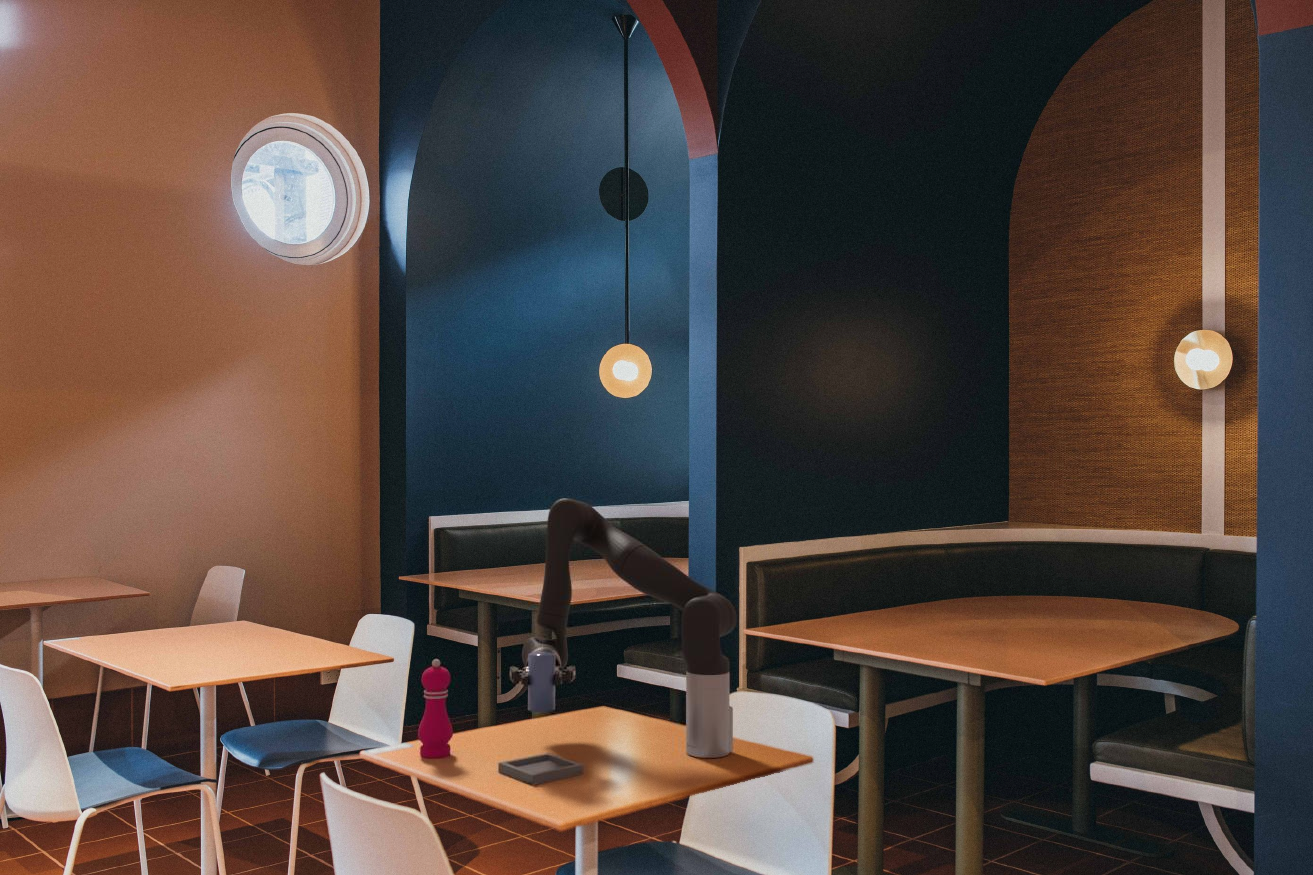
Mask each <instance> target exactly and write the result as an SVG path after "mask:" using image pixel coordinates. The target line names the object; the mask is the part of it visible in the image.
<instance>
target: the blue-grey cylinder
mask: <svg viewBox="0 0 1313 875" xmlns="http://www.w3.org/2000/svg"><path fill="white" fill-rule="evenodd" d="M554 710H556V686H555V653H551V652H534V653H530V654H528V688H527V711H529V712H533V713H546V712H547V713H548V712H553V711H554Z"/></svg>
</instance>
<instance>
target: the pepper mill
mask: <svg viewBox="0 0 1313 875" xmlns="http://www.w3.org/2000/svg"><path fill="white" fill-rule="evenodd" d="M450 683H451V674H450V672H449V670H448V669H447V668H445V667H443V666H441V661H440V659H438V658H435V659H433V660H432V662H431V666H429V667H427V669H425V670H424V671H423V673H422V674H421V684H422V687H424V690H423V693H424V694H423V698H425V709H424V713H423V717H422V718H421V721H420V724H419V727H418V730H417V738H418V740H419V742H421V744H422V745H421V746H420V748H419V755H420V757H421V758H426V759H440V758H445V757H448V756H449V755H450V754H451V745H450V743H449V742H450V741H451V739H452V738H453V734H454V733H453V731H454V730H453V726H452V723H451V720H450V718H449V716H448V712H447V706H446V700H447V697H448V696H449V694H448V692H449V690H448V689H447V687H448V686H449V685H450Z"/></svg>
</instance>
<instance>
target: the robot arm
mask: <svg viewBox="0 0 1313 875" xmlns="http://www.w3.org/2000/svg"><path fill="white" fill-rule="evenodd" d="M546 524H547V525H546V546H545V562H544V564H545V565H544V578H543V584H542V589H541V595H540V601H539V605H538V610H537V615H536V624H537V625H538V626H539V627H542V628H544V629H547V630H548V631H551V632H552V633H554V636H555V639H549V638H546V637H545V638H543V637H540V636H532V637H529V638H527V639H526V640H525V642H524V644H523V647H522V650H521V660H522V663H523V665H524V667H523V668H522V669H519V668H520V667H516V666H514V665H512V666H510V667H509V680H510V681H511V682H512V684H515V685H518V684H520V685H522V686H524V688H527V687H528V654H530V653H534V652H551V653H555V687H559V685H562V684H563V682H564V684H565V683H566V684H571V682H573V681H575V679H576V666H575V665H570V666H567V664H568V659H569V653H568V652H569V651H568V641H567V626H568V619H569V613H570V608H571V603H572V594H573V586H572V579H571V570H570V569H571V568H570V554H571V553H570V552H571V548H572V544H573V542H574V541H575V542H578V543H581V544H583V545H585V546H586V547H588V548H589V549H591V550H593V551H594V552H596V553H598V554H599V555H600V556H601V557H602V558H603V559H604V560H605V562H606V564H608V566H609V568H610V569H611V570H612V572H613V573H614V574H616V575H617V577H618V578H619V579H621V580H622V581H624V582H625V583H627V585H630V586H631V587H632V588H633V589H635V590H636V591H638V592H641V593H642V594H644V595H647V596H649V597H652V598H654V599H657V600H660V601H662V602H666V603H668V604H671V605H673V606H675V607H677V608H679V610H680V611H682V614H681V624H680V626H681V648H682V649H681V650H682V656H683V660H684V662H685V665H686V666H685V674H686V675H685V676H686V677H685V682H686V683H685V685H686V686H685V690H686V691H685V692H686V693H685V694H686V695H685V698H686V699H685V703H686V705H685V706H686V707H685V709H686V710H685V712H686V713H685V720H686V721H685V722H686V724H685V745H686V746H685V747H686V749H685V753H686V755H689V756H692V757H696V758H702V759H705V758H707V759H713V758H721V757H726V756H728V755H730V753H733V751H734V743H733V741H734V738H733V737H734V708H733V706H731V705H730V660H729V658H728V657H727V656H725V655H724V654H722V650H721V640H720V639H721V637H724V636H727V635H729V634H730V633H732V632H733V630H734V629H735V627H736V626H737V621H738V620H737V619H738V618H737V617H738V615H737V612H736V609H735V607H734V606H733V603H731V601H730V600H729V599H727V597H725V596H724V595H722V594H720V593H718V592H717V591H714V590H713V589H710V588H709V587H707V586H705V585H703V584H701V583H700V582H698V581H696V580H694V579H693V578H691V577H690V576H688V575H687V574H686V573H684V572H683V571H682V570H681V569H679V568H678V567H676V566H675V565H674V564H672V563H671V562H670V561H668V560H666V559H665V558H664V557H662V556H661V555H659V554H658V553H657V552H655V551H654V550H653V549H651V548H650V547H649V546H647V545H645V544H644V543H642V542H641V541H639V540H637V538H634V537H633V536H631V535H629V534H627V533H626V532H623V531H622V530H620V529H619V528H617V527H616V526H615V525H613V524H612V523H611V522H610V521H609V520H608V519H606V518H605V517H604V516H602V514H600V512H598V511H597V509H595V508H594V507H593V506H592V505H590V504H588V503H586V502H583V501H580V500H576V499H573V498H567V497H566V498H565V497H564V498H559V499H558V500H556V501H555V502H554V503H553V504H552V505H551V507H550V509H549V512H548V515H547V523H546ZM566 666H567V667H566ZM565 668H566V669H565ZM520 682H521V683H520Z"/></svg>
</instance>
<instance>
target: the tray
mask: <svg viewBox="0 0 1313 875" xmlns="http://www.w3.org/2000/svg"><path fill="white" fill-rule="evenodd" d="M497 768H498V773H500V774H503V775H506V776H508V777H510V778H514V779H516V780H518V781H521V782H524V783H527V784H529V785H531V786H535V785H537V784H538V785H539V784H543V783H548V782H553V781H558V780H560V779H566V778H571V777H575V776H580V775H584V764H582V763H579V762H576V761H574V760H571V759H567V758H564V757H562V756H558V755H557V754H553V753H550V752H546V753H541V754H537V755H536V754H535V755H531V756H526V757H521V758H515V759H511V760H505V761H500V762H498V767H497Z"/></svg>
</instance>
